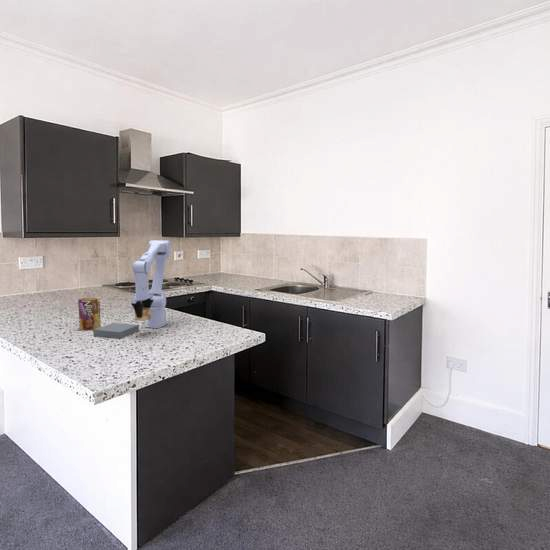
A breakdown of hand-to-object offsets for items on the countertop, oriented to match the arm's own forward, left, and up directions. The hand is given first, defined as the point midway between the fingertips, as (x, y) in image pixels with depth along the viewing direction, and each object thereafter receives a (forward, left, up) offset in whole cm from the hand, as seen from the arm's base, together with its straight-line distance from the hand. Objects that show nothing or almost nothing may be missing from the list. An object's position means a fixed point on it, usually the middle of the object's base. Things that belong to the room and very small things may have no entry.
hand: (142, 316), depth 181 cm
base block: (+3, -12, -8) cm, 15 cm away
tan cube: (0, 0, -1) cm, 1 cm away
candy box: (-1, -30, -9) cm, 31 cm away
